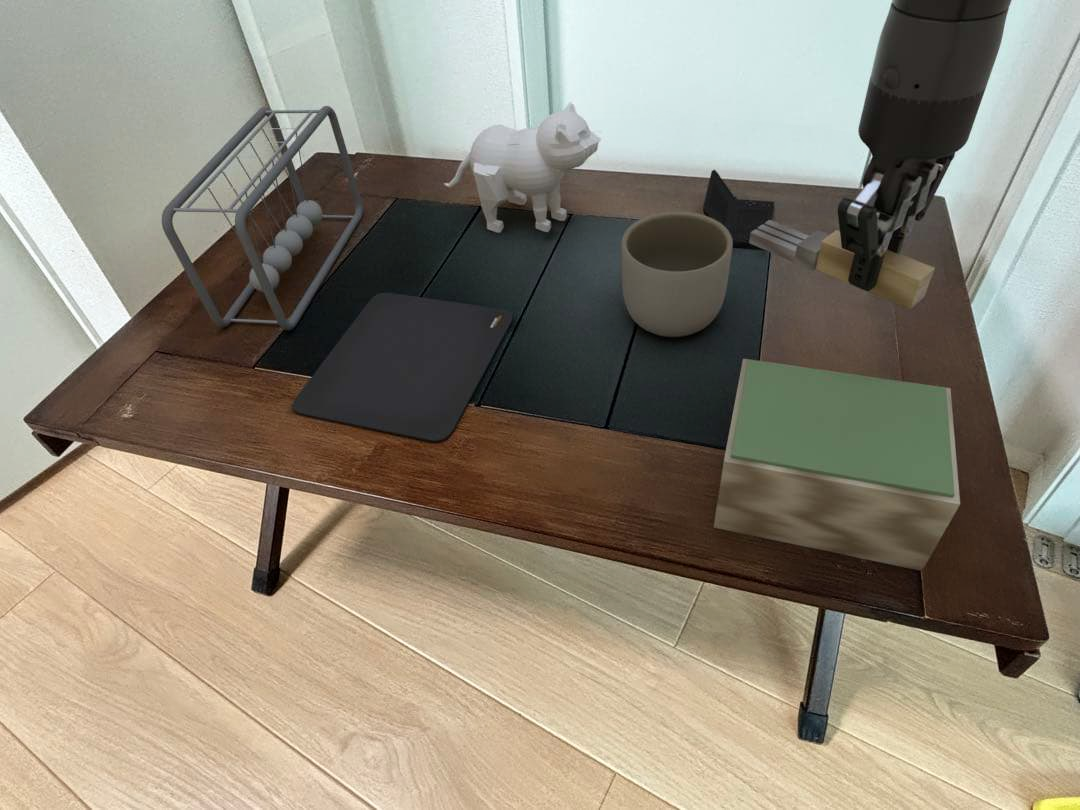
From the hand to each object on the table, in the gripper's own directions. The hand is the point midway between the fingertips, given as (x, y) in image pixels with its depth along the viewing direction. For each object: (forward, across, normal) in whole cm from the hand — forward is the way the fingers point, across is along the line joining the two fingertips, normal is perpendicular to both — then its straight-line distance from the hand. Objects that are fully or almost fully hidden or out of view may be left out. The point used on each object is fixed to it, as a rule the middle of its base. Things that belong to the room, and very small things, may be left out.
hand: (870, 277), depth 62 cm
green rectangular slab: (+8, -9, -5) cm, 13 cm away
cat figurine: (+17, +4, +54) cm, 57 cm away
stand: (+18, -9, -4) cm, 21 cm away
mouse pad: (+18, -26, +41) cm, 52 cm away
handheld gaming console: (+17, +23, +30) cm, 41 cm away
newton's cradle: (+17, -25, +70) cm, 76 cm away
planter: (+18, +2, +23) cm, 30 cm away
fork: (+1, 0, +4) cm, 4 cm away
